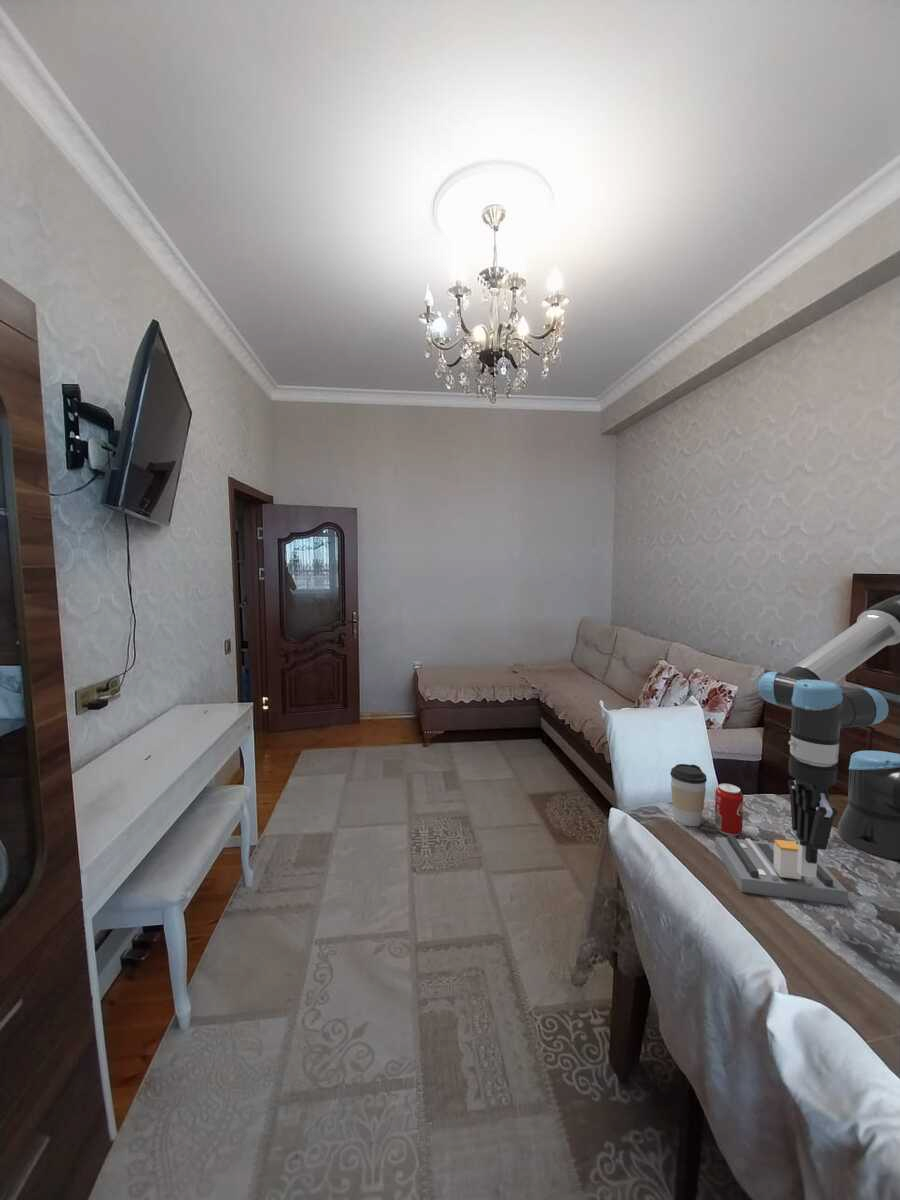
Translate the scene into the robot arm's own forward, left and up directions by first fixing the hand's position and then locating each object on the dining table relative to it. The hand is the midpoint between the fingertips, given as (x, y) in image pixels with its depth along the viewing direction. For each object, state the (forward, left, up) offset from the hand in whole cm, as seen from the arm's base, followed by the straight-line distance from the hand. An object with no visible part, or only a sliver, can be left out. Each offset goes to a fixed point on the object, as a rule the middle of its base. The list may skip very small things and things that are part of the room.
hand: (806, 874), depth 92 cm
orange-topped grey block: (0, -8, -5) cm, 10 cm away
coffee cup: (+13, -34, -9) cm, 38 cm away
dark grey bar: (-7, -13, -9) cm, 18 cm away
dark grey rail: (+7, -13, -9) cm, 17 cm away
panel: (0, -13, -9) cm, 16 cm away
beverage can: (+4, -30, -9) cm, 32 cm away
